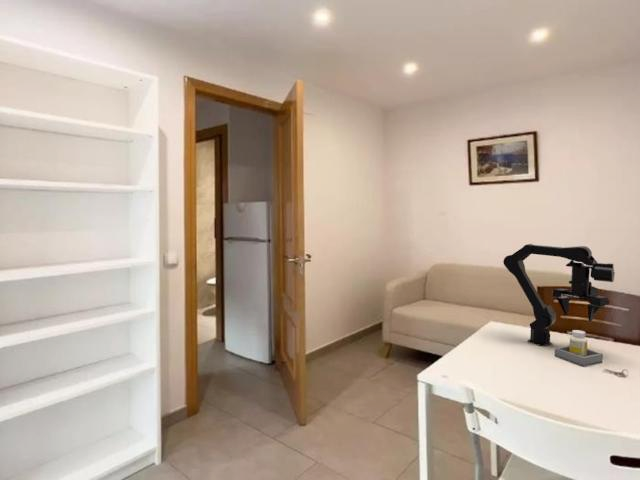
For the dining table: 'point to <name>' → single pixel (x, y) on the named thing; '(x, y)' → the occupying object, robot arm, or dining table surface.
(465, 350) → the dining table surface
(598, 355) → the tray
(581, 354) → the supplement bottle
